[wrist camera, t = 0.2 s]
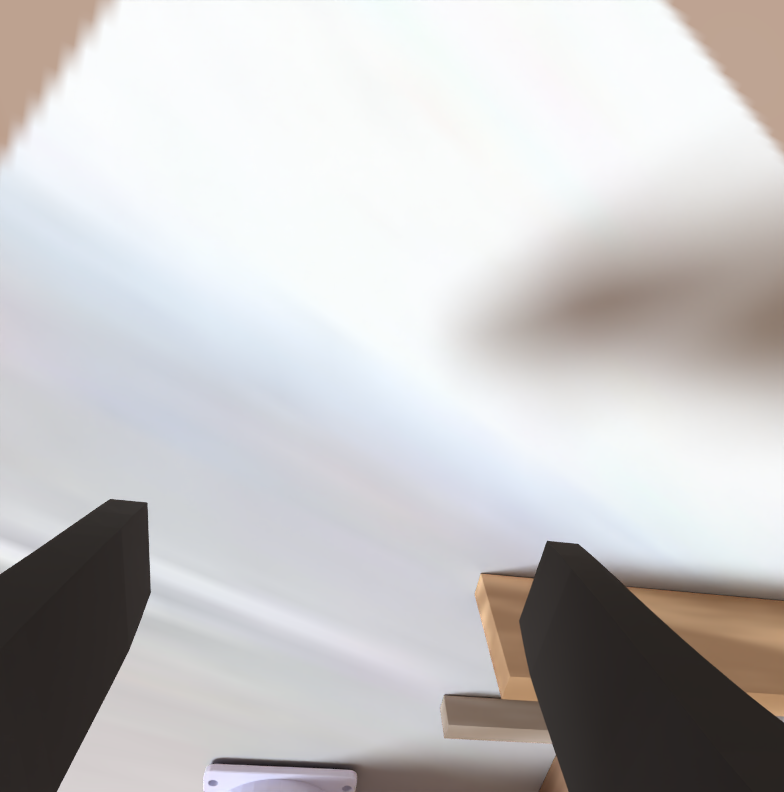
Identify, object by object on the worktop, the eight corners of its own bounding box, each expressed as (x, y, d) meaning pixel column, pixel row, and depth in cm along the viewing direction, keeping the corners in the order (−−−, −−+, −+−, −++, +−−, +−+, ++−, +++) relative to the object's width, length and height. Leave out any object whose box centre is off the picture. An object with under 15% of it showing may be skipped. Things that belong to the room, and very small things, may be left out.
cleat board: (776, 728, 29) (853, 835, 24) (440, 708, 27) (456, 822, 22) (861, 608, 25) (972, 707, 21) (480, 573, 23) (510, 676, 18)
